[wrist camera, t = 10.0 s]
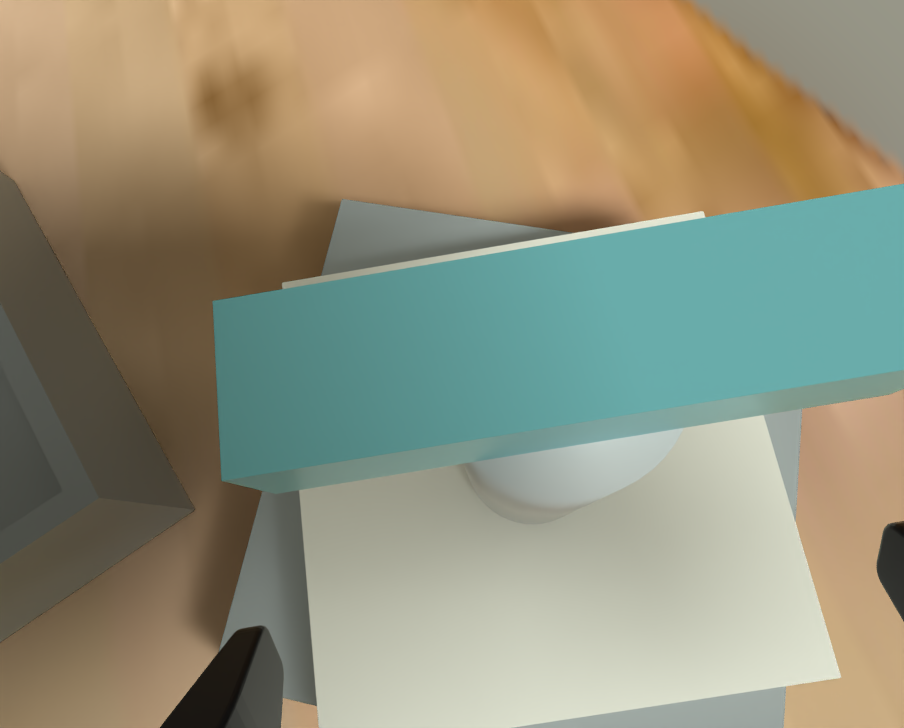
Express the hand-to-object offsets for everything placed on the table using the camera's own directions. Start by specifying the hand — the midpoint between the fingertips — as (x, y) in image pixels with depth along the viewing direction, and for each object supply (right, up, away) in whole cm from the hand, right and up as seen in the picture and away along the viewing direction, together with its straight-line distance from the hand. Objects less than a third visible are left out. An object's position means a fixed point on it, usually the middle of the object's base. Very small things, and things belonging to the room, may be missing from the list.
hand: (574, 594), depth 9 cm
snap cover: (0, +1, +7) cm, 7 cm away
